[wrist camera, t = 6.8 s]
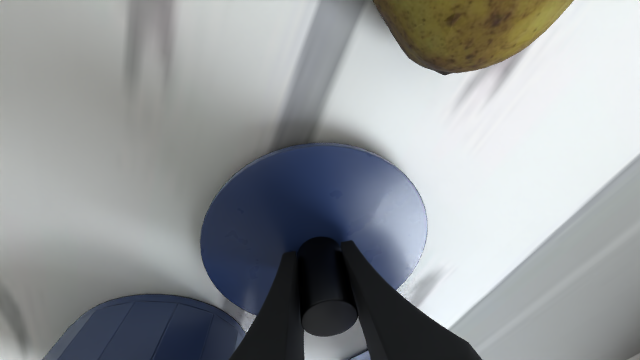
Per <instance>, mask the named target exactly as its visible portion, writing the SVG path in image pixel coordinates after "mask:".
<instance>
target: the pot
mask: <svg viewBox="0 0 640 360" xmlns="http://www.w3.org/2000/svg"><path fill="white" fill-rule="evenodd" d="M244 337H245V332H244V331H243V329H242V328H241V326H240V325H239V324H238V323H237V322H236V321H235V320H234V319H233V318H232V317H230V316H229V315H228V314H226V313H225V312H223V311H221V310H220V309H218V308H216V307H213V306H211V305H209V304H206V303H203V302H201V301H197V300H194V299H190V298H185V297H179V296H173V295H162V294H146V295H134V296H128V297H122V298H118V299H114V300H110V301H108V302H105V303H102V304H100V305H98V306H96V307H94V308H92V309H90V310H89V311H87V312H86V313H85V314H83V315H82V316H81V317H80V318H79V319H78V320H77V321H76V322H75V323H74V324H72V325H71V326H70V327H69V328H68V329H67V330H66V332H65V333H64V334H63V335H62V337H61V338H60V339H59V340H58V341H57V343H56V344H55V345H54V346H53V347H52V349H51V350H50V351H49V352H48V353H47V355H46V356H45V357H44V358H43V359H42V360H229V358H230V357H231V356H232V354H233V353H234V351H235V350H236V349H237V347H238V346H239V344H240V343H241V341H242V340H243V338H244Z"/></svg>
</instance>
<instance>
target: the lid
mask: <svg viewBox="0 0 640 360" xmlns="http://www.w3.org/2000/svg"><path fill="white" fill-rule="evenodd" d="M426 237H427V216H426V211H425V206H424V204H423V201H422V199H421V196H420V194H419V193H418V191H417V189H416V188H415V186H414V184H413V183H412V182H411V181H410V180H409V179H408V178H407V176H406V175H405V174H404V173H403V172H402V171H401V170H399V169H398V168H397V167H396V166H395V165H393V164H392V163H391V162H389V161H388V160H386V159H384V158H383V157H381V156H379V155H377V154H375V153H372V152H370V151H368V150H365V149H362V148H358V147H354V146H350V145H345V144H337V143H309V144H301V145H295V146H291V147H287V148H283V149H280V150H277V151H274V152H272V153H269V154H267V155H264V156H262V157H260V158H258V159H257V160H255V161H253V162H251V163H250V164H248V165H246V166H245V167H244V168H242V169H241V170H240V171H238V172H237V173H236V174H235V175H233V176H232V177H231V178H230V179H229V180H228V181H227V183H226V184H225V185H224V186H223V187H222V188H221V189H220V191H219V192H218V194H217V195H216V196H215V198H214V199H213V201H212V203H211V205H210V207H209V209H208V211H207V213H206V215H205V218H204V222H203V225H202V229H201V238H200V247H201V256H202V260H203V264H204V267H205V269H206V271H207V274H208V276H209V277H210V279H211V281H212V282H213V284H214V285H215V286H216V288H217V289H218V290H219V291H220V292H221V293H222V294H223V295H224V296H225V297H226V298H227V299H229V300H230V301H231V302H232V303H234V304H235V305H237V306H238V307H240V308H241V309H243V310H245V311H247V312H249V313H251V314H254V315H258V313H259V311H260V309H261V307H262V305H263V303H264V301H265V299H266V297H267V295H268V293H269V291H270V288H271V286H272V283H273V281H274V279H275V276H276V273H277V271H278V268H279V265H280V262H281V258H282V255H283V254H284V253H286V252H291V251H296V255H297V259H298V272H299V296H300V319H301V325H302V327H303V329H304V330H305V331H306V332H308V333H310V334H312V335H315V336H323V337H325V336H334V335H337V334H340V333H343V332H345V331H346V330H348V329H349V328H351V327H352V326H353V325H354V323H355V322H356V320H357V318H358V310H357V306H356V303H355V299H354V295H353V292H352V288H351V284H350V281H349V277H348V274H347V270H346V266H345V263H344V259H343V255H342V251H341V243H340V242H344V241H350V240H352V241H354V243H355V244H356V246H357V247H358V249H359V250H360V252H361V253H362V254H363V256H364V257H365V258H366V259H367V261H368V262H369V263H370V264H371V265H372V267H373V268H374V269H375V270H376V271H377V272H378V273H379V274H380V275H381V276H382V277H383V278H384V280H385V281H386V282H387V283H388V284H389V285H391V286H392V287H393V288H394V289H395V290H397V289H398V288H399V287H400V286H401V285H402V284H403V283H404V282H405V281H406V279H407V278H408V277H409V275H410V274H411V273H412V272H413V270H414V268H415V267H416V265H417V263H418V262H419V259H420V257H421V255H422V253H423V250H424V246H425V243H426Z"/></svg>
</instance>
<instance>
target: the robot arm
mask: <svg viewBox="0 0 640 360" xmlns="http://www.w3.org/2000/svg"><path fill="white" fill-rule="evenodd" d="M340 243H341V251H342V255H343V259H344V263H345V266H346V270H347V274H348V277H349V281H350V284H351V288H352V292H353V295H354V299H355V303H356V306H357V310H358V318H359V321H360V324H361V327H362V329H363V333H364V336H365V339H366V343H367V347H368V351H366V352H364V353H362V354H360V355H358V356H356V357H354V358H352V359H350V360H482V359H481V358H480V356H479V355H478V354H477V353H476V351H475V350H474V349H473V348H472V346H471V345H470V344H469V343H468V342H467V341H465V340H464V339H462V338H460V337H459V336H457V335H455V334H454V333H452V332H451V331H449V330H447V329H446V328H444V327H443V326H441V325H440V324H438V323H437V322H435V321H434V320H432V319H431V318H430V317H428V316H427V315H426V314H424V313H423V312H422V311H420V310H419V309H418V308H416V307H415V306H414V305H412V304H411V303H410V302H409V301H407V300H406V299H405V298H404V297H403V296H401V295H400V294H399V293H398V292H397V291H396V290H395V289H394V288H393V287H392V286H391V285H389V284H388V283H387V282H386V281H385V280H384V278H383V277H382V276H381V275H380V274H379V273H378V272H377V271H376V270H375V269H374V268H373V267H372V265H371V264H370V263H369V262H368V261H367V259H366V258H365V257H364V256H363V254H362V253H361V252H360V250H359V249H358V247H357V246H356V244H355V243H354V241H352V240H350V241H344V242H340ZM229 360H304V329H303V327H302V325H301V319H300V296H299V272H298V259H297V255H296V251H291V252H286V253H284V254H283V255H282V258H281V262H280V265H279V268H278V271H277V273H276V276H275V279H274V281H273V283H272V286H271V288H270V291H269V293H268V295H267V297H266V299H265V301H264V303H263V305H262V307H261V309H260V311H259V313H258V315H257V317H256V318H255V320H254V322H253V324H252V325H251V327H250V329H249V330H248V332H247V333H246V335H245V337H244V338H243V340H242V341H241V343H240V344H239V346H238V347H237V349H236V350H235V351H234V353H233V354H232V356H231V357H230V358H229Z"/></svg>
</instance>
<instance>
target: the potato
mask: <svg viewBox="0 0 640 360" xmlns="http://www.w3.org/2000/svg"><path fill="white" fill-rule="evenodd" d="M573 1H574V0H373V2H374V4H375V6H376V7H377V9H378V11H379V13H380V15H381V16H382V18H383V19H384V21H385V23H386V24H387V26H388V28H389V29H390V31H391V33H392V34H393V36H394V37H395V39H396V41H397V42H398V44H399V45H400V47H401V49H402V50H403V51H404V52H405V54H406V55H407V56H408V58H409V59H411V60H412V61H414V62H415V63H417V64H419V65H420V66H422V67H425V68H428V69H431V70H434V71H436V72H438V73H440V74H442V75H447V74H450V73H461V72H468V71H474V70H478V69H482V68H486V67H488V66H491V65H494V64H497V63H499V62H502V61H504V60H506V59H508V58H509V57H511V56H513V55H515V54H517V53H518V52H520V51H522V50H523V49H525V48H526V47H527V46H529V45H530V44H531V43H532V42H533V41H534V40H536V39H537V38H538V37H539V36H540V35H541V34H543V33H544V32H545V31H546V30H547V29H548V28H549V27H550V26H551V25H552V24H553V23H554V22H555V21H556V20H557V19H558V18H559V16H560V15H561V14H562V13H563V12H564V11H565V10H566V9H567V7H568V6H569V5H570V4H571V3H572V2H573Z"/></svg>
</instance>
